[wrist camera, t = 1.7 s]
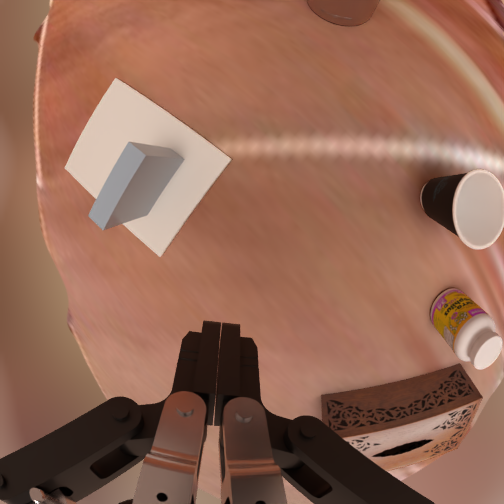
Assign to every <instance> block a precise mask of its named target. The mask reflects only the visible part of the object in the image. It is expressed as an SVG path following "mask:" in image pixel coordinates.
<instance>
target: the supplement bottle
mask: <svg viewBox="0 0 504 504" xmlns="http://www.w3.org/2000/svg"><path fill="white" fill-rule="evenodd" d="M430 316H431V321H432V323H433V325H434V326H435V328H436V329H437V330H438V331H439V333H440V334H441V335H442V337H443V338H444V339H445V341H446V342H447V343H448V345H449V346H450V347H451V349H452V350H453V351H454V353H455V354H456V355H457V357H458V358H459V359H460V360H462V361H471V363H472V364H473V365H474V367H475V368H476V369H479V370H481V369H484V368H487V367H488V366H490V365H491V364H492V363H493V362H494V361H495V360H496V358H497V357H498V355H499V354H500V352H501V349H502V344H503V342H502V339H501V337H500V336H499V335H498V334H497V333H496V332H495V331H496V330H495V323H494V320H493V319H492V318H491V317H490V316H489V315H488V314H487V313H486V312H485V311H484V310H483V309H482V308H480V307H479V306H478V305H477V304H476V303H475V302H474V301H472V300H471V299H470V298H469V297H468V296H467V295H465V294H464V293H463V292H462V291H461V290H459V289H455V288H451V289H448V290H446V291H444V292H442V293H441V294H440V295H439V296H438V297H437V298H436V300H435V301H434V303H433V305H432V308H431V314H430Z"/></svg>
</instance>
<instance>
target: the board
mask: <svg viewBox="0 0 504 504" xmlns="http://www.w3.org/2000/svg"><path fill="white" fill-rule="evenodd" d="M128 142H135V143H142V144H148V145H154V146H160V147H166V148H171V149H172V150H173V151H175V152H176V153H177V154H179V155H180V156H181V157H182V158H184V159H185V160H184V161H183V163H182V164H181V165H180V167H179V168H178V170H177V171H176V173H175V174H174V175H173V177H172V178H171V180H170V181H169V183H168V184H167V186H166V187H165V189H164V190H163V192H162V193H161V195H160V196H159V198H158V199H157V201H156V202H155V204H154V206H153V207H152V209H151V210H150V212H149V213H148V215H147V216H144V217H141V218H138V219H135V220H132V221H129V222H126V223H123V225H124V226H125V227H127V228H128V229H129V230H130V231H131V232H132V233H133V234H134V235H135V236H137V237H138V238H139V239H140V240H141V241H142V242H143V243H144V244H146V245H147V246H148V247H149V248H150V249H151V250H152V251H154V252H155V253H156V254H157V255H158V256H159V257H161V256H162V255H163V254H164V252H165V251H166V249H167V248H168V247H169V245H170V244H171V242H172V241H173V239H174V238H175V236H176V235H177V233H178V232H179V231H180V229H181V228H182V226H183V225H184V224H185V222H186V221H187V219H188V218H189V216H190V215H191V214H192V212H193V211H194V210H195V208H196V207H197V205H198V204H199V203H200V201H201V200H202V199H203V197H204V196H205V195H206V193H207V192H208V191H209V189H210V188H211V187H212V185H213V184H214V183H215V181H216V180H217V179H218V177H219V176H220V175H221V173H222V172H223V171H224V170H225V168H226V167H227V166H228V164H229V163H230V162H231V161H232V159H231V158H230V157H229V156H227V155H226V154H225V153H223V152H222V151H221V150H219V149H218V148H217V147H215V146H214V145H213V144H211V143H210V142H209V141H207V140H206V139H205V138H203V137H202V136H201V135H199V134H198V133H196V132H195V131H194V130H192V129H191V128H190V127H188V126H187V125H185V124H184V123H183V122H181V121H180V120H178V119H177V118H176V117H174V116H173V115H171V114H170V113H168V112H167V111H166V110H164V109H163V108H161V107H160V106H158V105H157V104H155V103H154V102H152V101H151V100H150V99H148V98H147V97H145V96H144V95H142V94H141V93H139V92H138V91H136V90H134V89H133V88H131V87H130V86H128V85H127V84H125V83H124V82H122V81H121V80H119V79H117V78H115V80H114V81H113V83H112V84H111V86H110V87H109V89H108V90H107V92H106V93H105V95H104V96H103V98H102V99H101V101H100V103H99V104H98V106H97V108H96V109H95V111H94V113H93V114H92V116H91V118H90V119H89V121H88V123H87V125H86V127H85V128H84V130H83V132H82V134H81V136H80V138H79V140H78V141H77V143H76V145H75V147H74V149H73V151H72V153H71V156H70V158H69V160H68V162H67V164H66V166H65V169H66V170H67V171H68V172H69V173H70V174H71V175H72V176H73V177H74V178H75V179H76V180H77V181H78V182H79V183H80V184H81V185H82V186H83V187H84V188H85V189H86V190H87V191H88V192H89V193H90V194H91V195H92V196H93V197H94V198H95V199H97V197H98V195H99V193H100V191H101V189H102V187H103V185H104V183H105V182H106V180H107V178H108V176H109V174H110V172H111V171H112V169H113V167H114V165H115V164H116V162H117V160H118V158H119V157H120V155H121V153H122V152H123V150H124V148H125V147H126V145H127V144H128Z"/></svg>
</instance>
